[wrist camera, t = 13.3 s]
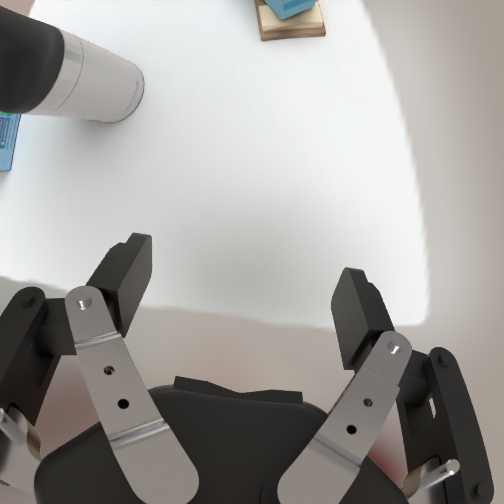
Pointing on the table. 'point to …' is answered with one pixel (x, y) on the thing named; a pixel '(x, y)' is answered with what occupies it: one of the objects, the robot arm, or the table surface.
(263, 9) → the display stand
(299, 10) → the data package
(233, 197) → the table surface
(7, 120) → the blue product box
